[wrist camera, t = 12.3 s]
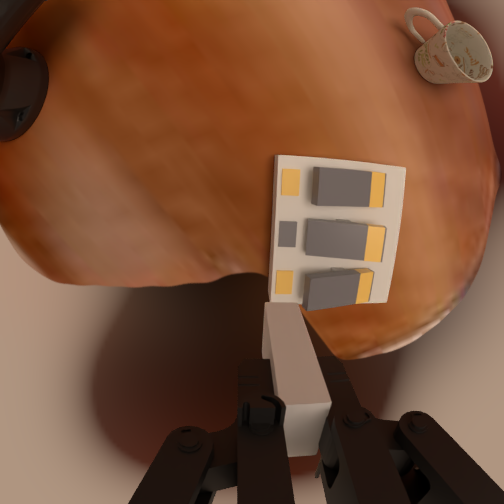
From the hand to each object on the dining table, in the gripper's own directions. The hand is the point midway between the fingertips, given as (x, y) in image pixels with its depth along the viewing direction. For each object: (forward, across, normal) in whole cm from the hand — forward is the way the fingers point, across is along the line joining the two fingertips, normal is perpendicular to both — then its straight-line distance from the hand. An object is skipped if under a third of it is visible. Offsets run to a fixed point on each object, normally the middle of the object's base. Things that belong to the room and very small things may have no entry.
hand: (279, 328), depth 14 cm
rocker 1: (+20, +10, +5) cm, 23 cm away
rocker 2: (+20, +10, -1) cm, 23 cm away
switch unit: (+26, +10, -1) cm, 28 cm away
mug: (+27, +23, +26) cm, 44 cm away
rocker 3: (+20, +10, -7) cm, 24 cm away
